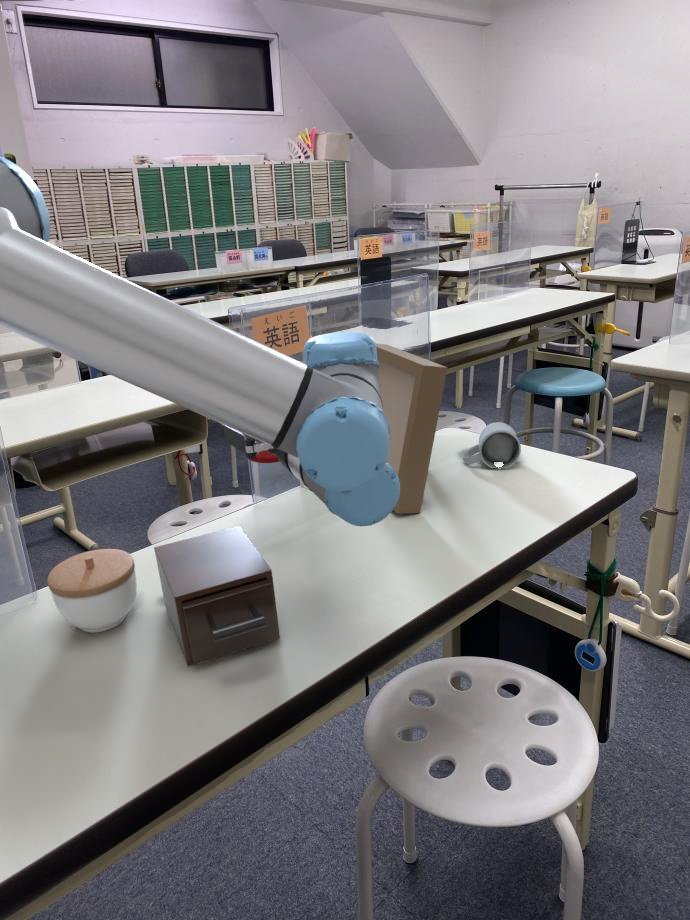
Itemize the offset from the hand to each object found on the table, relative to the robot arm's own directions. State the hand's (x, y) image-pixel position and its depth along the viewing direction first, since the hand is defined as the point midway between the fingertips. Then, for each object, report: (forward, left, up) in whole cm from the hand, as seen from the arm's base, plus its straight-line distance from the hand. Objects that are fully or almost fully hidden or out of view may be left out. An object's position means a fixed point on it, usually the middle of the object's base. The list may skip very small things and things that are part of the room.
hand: (257, 407), depth 102 cm
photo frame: (+23, +17, -22) cm, 36 cm away
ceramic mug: (+40, +26, -22) cm, 52 cm away
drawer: (-3, -27, -21) cm, 34 cm away
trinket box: (-21, -21, -22) cm, 37 cm away
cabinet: (-4, -23, -22) cm, 32 cm away
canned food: (+2, -4, -6) cm, 8 cm away
